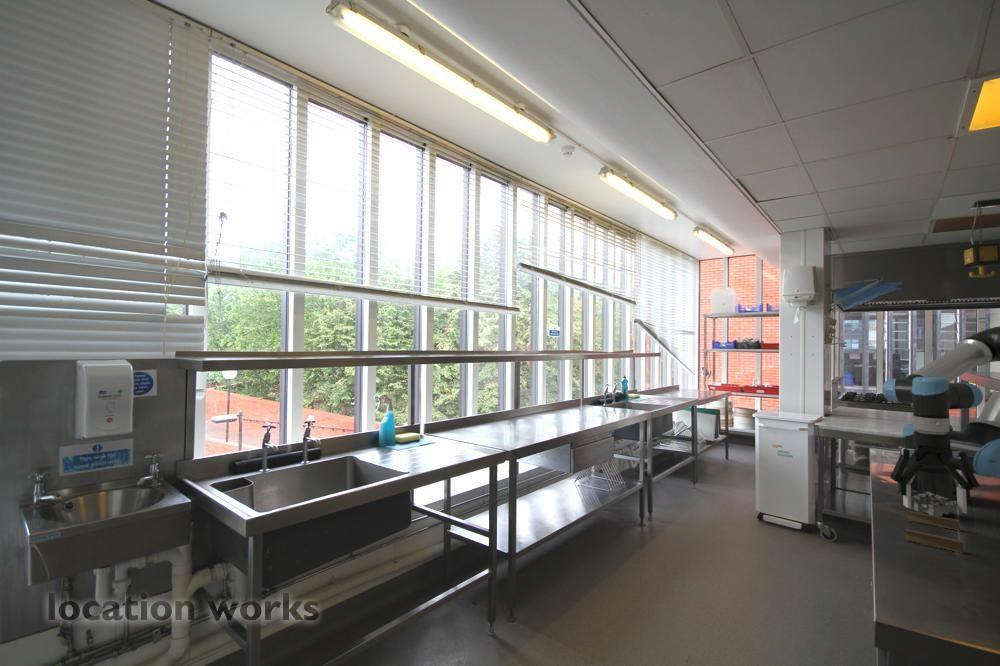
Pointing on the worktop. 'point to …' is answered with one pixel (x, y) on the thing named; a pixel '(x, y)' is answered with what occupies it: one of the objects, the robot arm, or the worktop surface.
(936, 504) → the egg carton
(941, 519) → the parallel wooden rails
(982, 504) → the worktop surface
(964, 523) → the worktop surface
